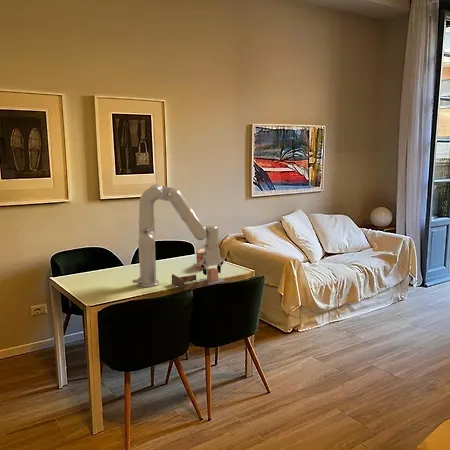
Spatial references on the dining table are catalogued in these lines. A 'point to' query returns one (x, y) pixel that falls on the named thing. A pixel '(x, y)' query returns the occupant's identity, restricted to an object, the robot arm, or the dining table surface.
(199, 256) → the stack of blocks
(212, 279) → the terracotta block
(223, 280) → the slate mat
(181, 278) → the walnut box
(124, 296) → the dining table surface
